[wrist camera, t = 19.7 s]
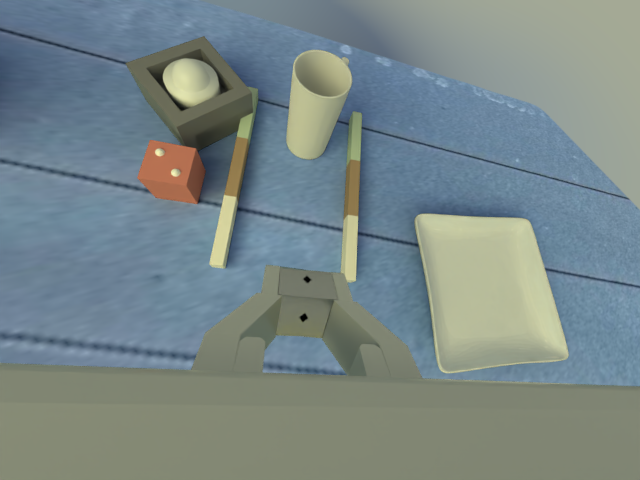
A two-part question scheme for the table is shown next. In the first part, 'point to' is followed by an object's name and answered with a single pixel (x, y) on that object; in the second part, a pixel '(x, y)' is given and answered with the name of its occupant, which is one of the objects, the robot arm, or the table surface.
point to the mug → (316, 101)
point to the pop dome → (190, 82)
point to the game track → (235, 184)
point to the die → (172, 172)
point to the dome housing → (204, 118)
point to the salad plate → (487, 293)
